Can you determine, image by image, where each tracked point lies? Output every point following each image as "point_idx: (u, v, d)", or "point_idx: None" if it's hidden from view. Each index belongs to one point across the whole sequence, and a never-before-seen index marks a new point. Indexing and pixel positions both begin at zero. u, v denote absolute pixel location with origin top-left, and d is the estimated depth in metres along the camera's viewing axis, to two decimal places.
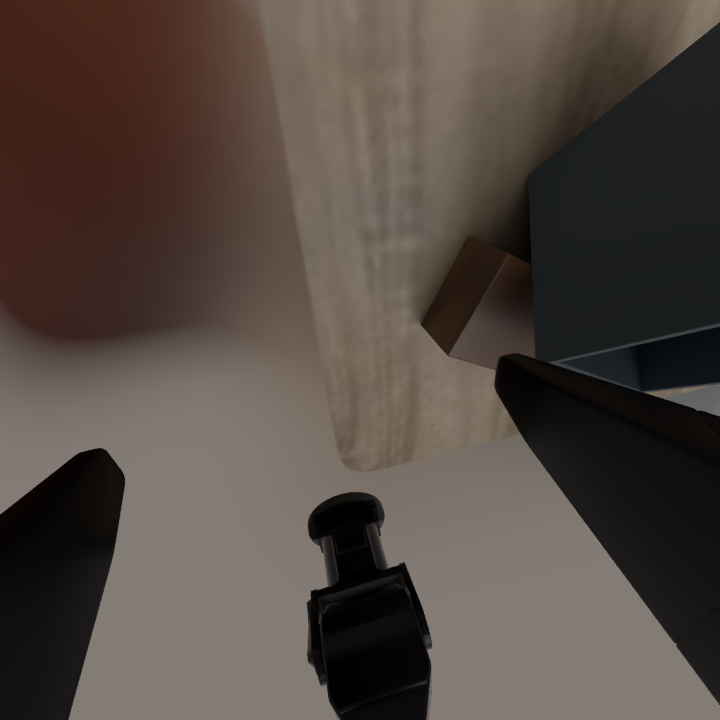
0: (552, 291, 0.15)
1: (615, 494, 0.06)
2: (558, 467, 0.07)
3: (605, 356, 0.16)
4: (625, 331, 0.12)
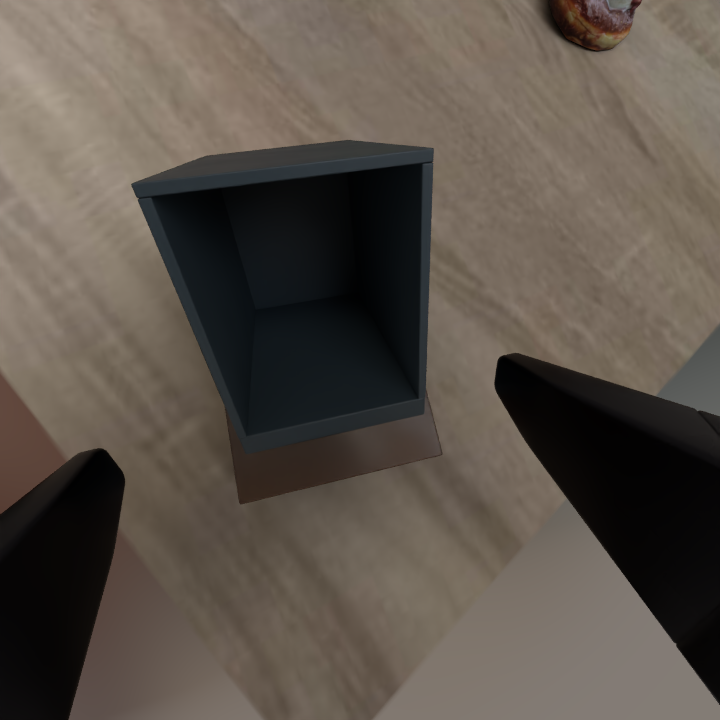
0: None
1: (615, 494, 0.06)
2: (558, 467, 0.07)
3: (339, 394, 0.13)
4: None
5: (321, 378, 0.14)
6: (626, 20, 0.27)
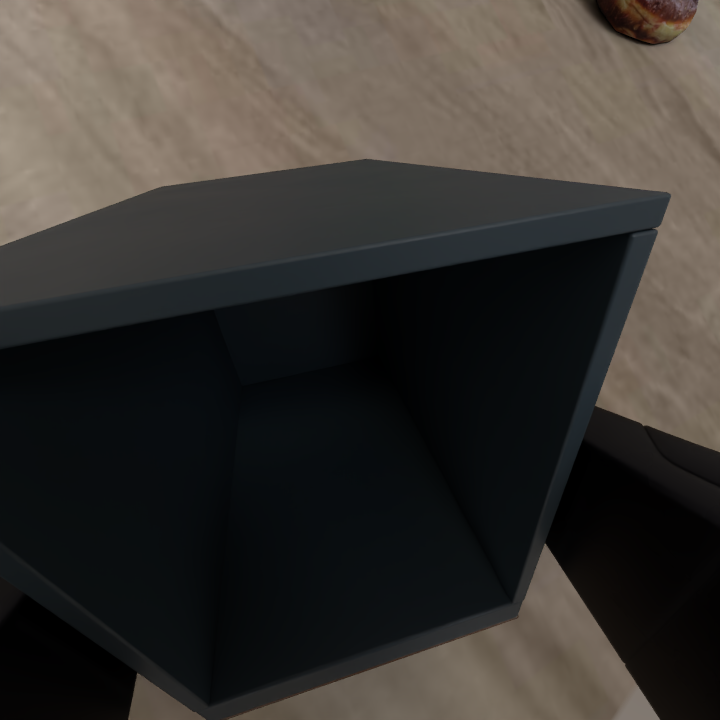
0: None
1: (566, 508, 0.06)
2: None
3: (372, 584, 0.08)
4: None
5: (339, 539, 0.09)
6: (690, 6, 0.23)
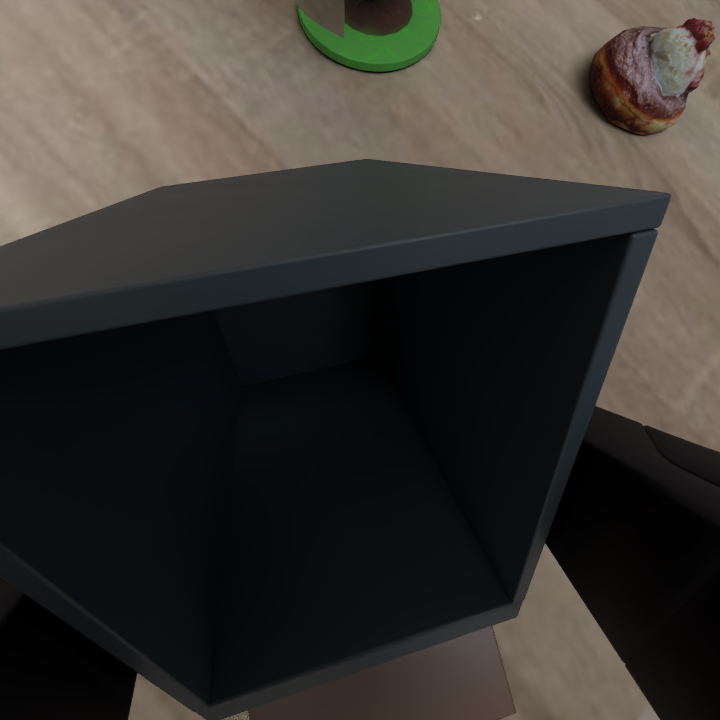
0: None
1: (566, 509, 0.06)
2: None
3: (372, 584, 0.08)
4: None
5: (339, 539, 0.09)
6: (679, 105, 0.24)
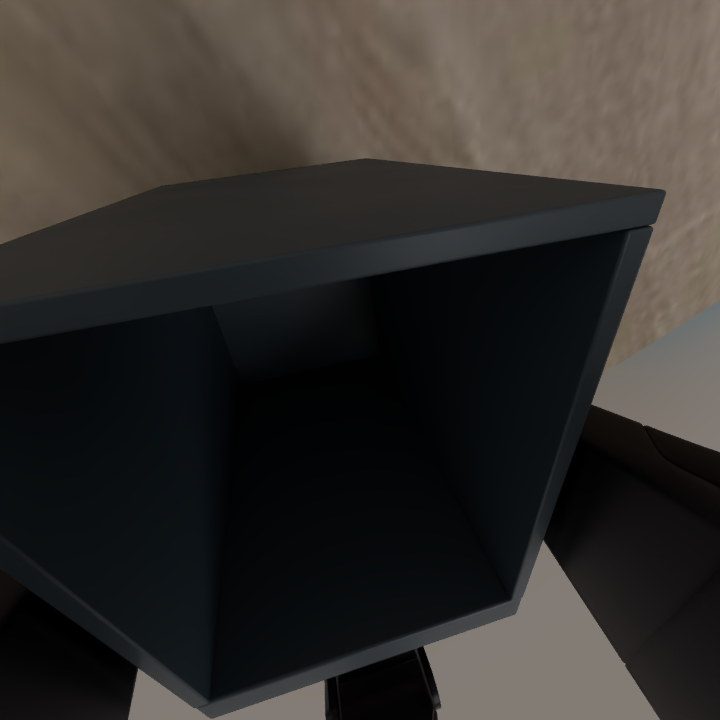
0: None
1: (566, 509, 0.06)
2: None
3: (371, 581, 0.08)
4: None
5: (338, 536, 0.09)
6: None
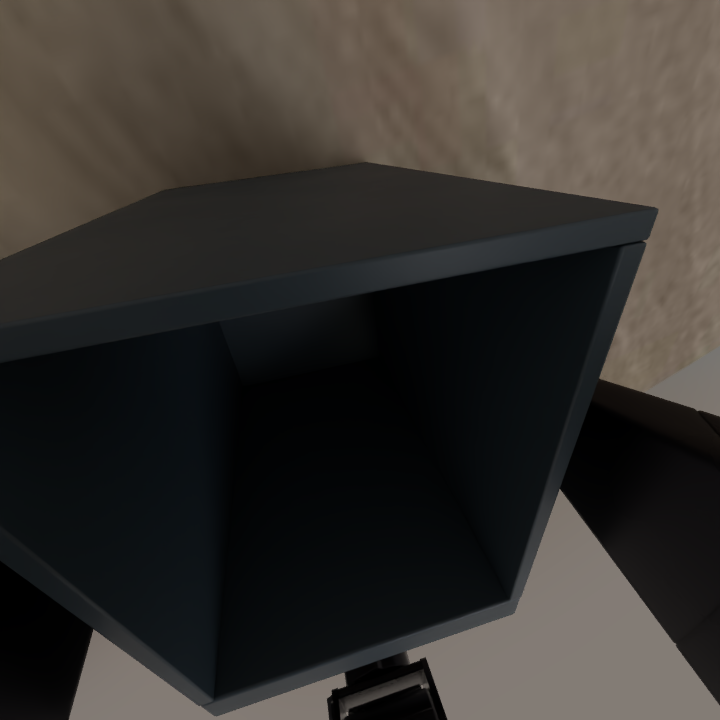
0: None
1: (614, 494, 0.06)
2: None
3: (372, 582, 0.08)
4: None
5: (340, 537, 0.09)
6: None
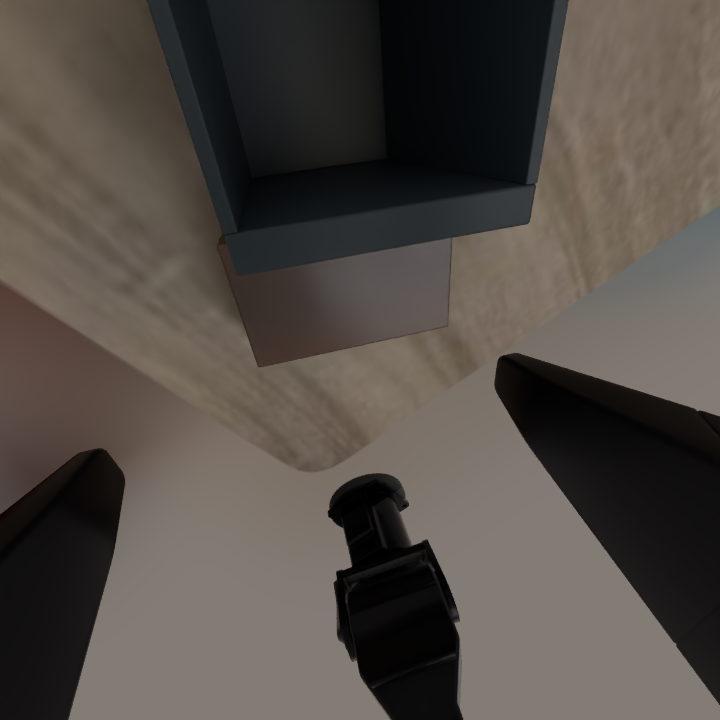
0: None
1: (615, 494, 0.06)
2: (558, 467, 0.07)
3: (389, 196, 0.08)
4: (167, 50, 0.06)
5: (355, 192, 0.09)
6: None
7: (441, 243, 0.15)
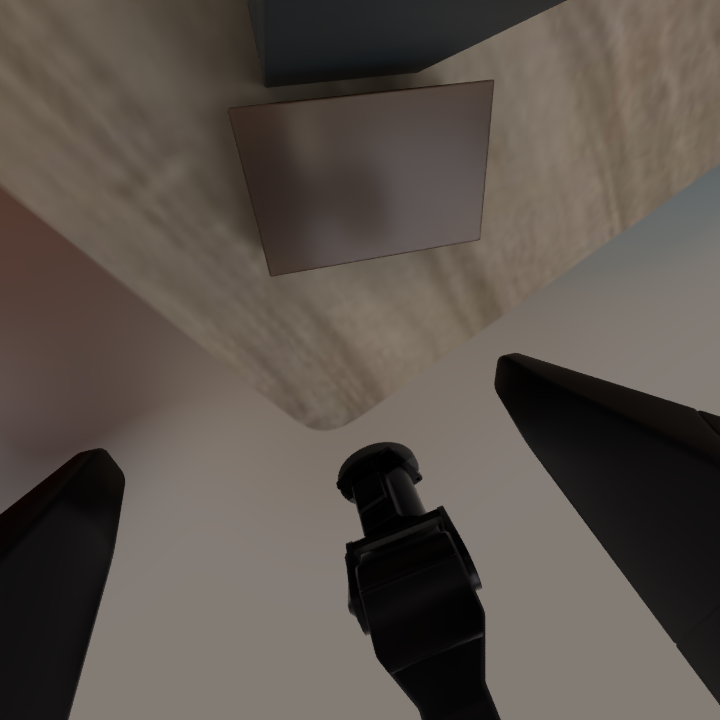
0: None
1: (614, 494, 0.06)
2: (558, 467, 0.07)
3: None
4: None
5: None
6: None
7: (478, 129, 0.14)
